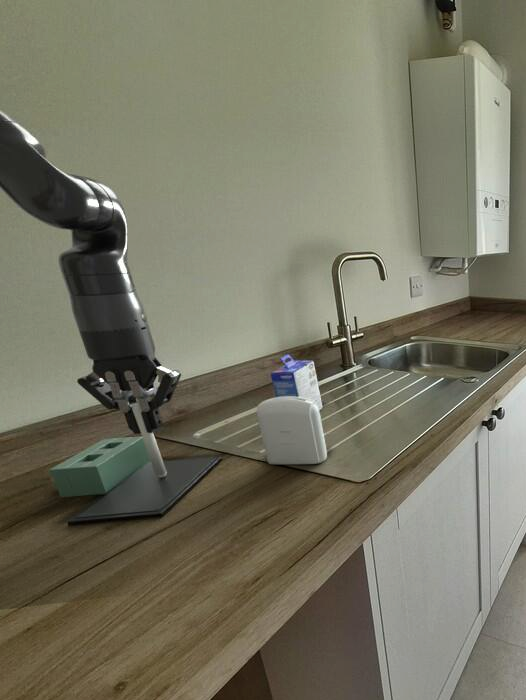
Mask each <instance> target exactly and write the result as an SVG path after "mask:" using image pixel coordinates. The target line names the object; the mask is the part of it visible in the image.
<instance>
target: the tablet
mask: <svg viewBox="0 0 526 700" xmlns="http://www.w3.org/2000/svg"><path fill="white" fill-rule="evenodd" d="M222 461H223V458H222V456H214V457H213V456H212V457H201V458H186V459H175V460H163V463H164V466H165V469H166V471H167V474H166V476H164V477H162V478H159V477H157V476H156V474H155V471H154V468H153V466H152V463H151V462H149V463H147V464H146V465H144V466H143V467H142V468H140V469H139V470H137V471H136V472H135V473H133V474H132V475H131V476H129V477H128V478H126V479H125V480H124V481H122V482H121V483H120V484H118V485H117V486H115V487H114V488H113V489H111V490H110V491H109V492H107V493H106V494H102V496H100V497H99V498H98V499H96V500H95V501H93V502H92V503H91V504H89V505H88V506H86V507H85V508H83V509H82V510H81V511H79V512H78V513H77V514H75V515H73V517H72V518H70V519H68V520H67V521H66V523H67V525H68V526H79V525H89V524H90V525H91V524H102V523H114V522H122V521H135V520H142V519H143V520H146V519H156V518H163V517H164V516H166V514H168V513H169V511H171V510H172V509H173V508H174V507H175V506H176V505H177V504H178V503H179V502H180V501H181V500H182V499H184V497H185V496H186V495H188V493H189V492H190V491H192V490H193V488H195V487H196V486H197V485H198V484H199V483H200V482H201V481H202V480H203V479H204V478H205V477H206V476H207V475H208V474H209V473H211V472H212V470H214V468H216V467H217V466H218V465H219V464H220V463H221V462H222Z"/></svg>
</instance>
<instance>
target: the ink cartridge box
mask: <svg viewBox="0 0 526 700" xmlns="http://www.w3.org/2000/svg"><path fill="white" fill-rule="evenodd" d="M286 359H288V360H289V361H287V362H286ZM279 360H280V361H281V362H282V364H283V365H282V366H280V367H279V368H278V369H276V370H274V371H272V372H271V373H270V377H271V382H272V386H273V390H274V395H275V398H276V397H284V396H293V397H302V398H307V399H310V400H313V401H315V402H316V403H317V404H318V407H319V411H321V410H322V409H323V402H322V399H321V393H320V392H321V391H320V389H319V382H318V377H317V372H316V367H315V363H314V360H311V359H310V360H309V359H308V360H307V359H305V360H294V359H293V358H292V356H291V355H290V354H289V353H287V354H285V355H284V356H281V357H279Z"/></svg>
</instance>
